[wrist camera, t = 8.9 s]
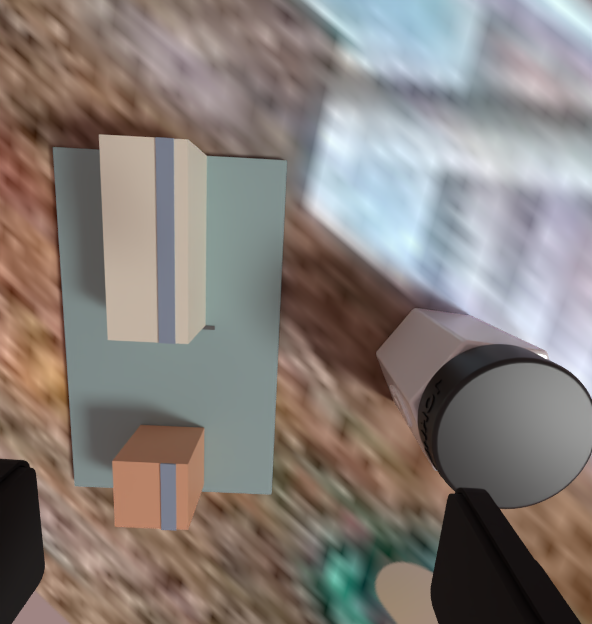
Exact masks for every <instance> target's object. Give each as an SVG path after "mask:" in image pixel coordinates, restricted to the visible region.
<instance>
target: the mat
mask: <svg viewBox="0 0 592 624" xmlns="http://www.w3.org/2000/svg"><path fill="white" fill-rule="evenodd" d="M53 159H54V174H55V190H56V205H57V220H58V236H59V251H60V266H61V282H62V297H63V312H64V328H65V343H66V358H67V374H68V389H69V404H70V420H71V435H72V451H73V466H74V481H75V486H84V487H107V488H113V468H112V461H113V459H114V458H115V457H116V455H117V454H118V453H119V452H120V450H121V449H122V448H123V447H124V445H125V444H126V443H127V441H128V440H129V439H130V438H131V436H132V435H133V434H134V433H135V431H136V430H137V429H138V427H139V426H140V425H156V426H178V427H200V428H204V486H203V489H202V492H225V493H249V494H271V493H272V474H273V453H274V431H275V409H276V387H277V366H278V344H279V322H280V301H281V279H282V257H283V236H284V214H285V192H286V171H287V160H270V159H253V158H236V157H218V156H207V203H206V325H205V327H204V328H203V329H202V330H201V331H200V332H199V333H198V334H197V335H196V336H195V337H194V338H193V340H192V341H191V342H190V343H189V344H176V343H175V344H165V343H156V342H135V341H115V340H108V335H107V312H106V289H105V266H104V242H103V219H102V196H101V173H100V150H97V149H79V148H62V147H53Z"/></svg>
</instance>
